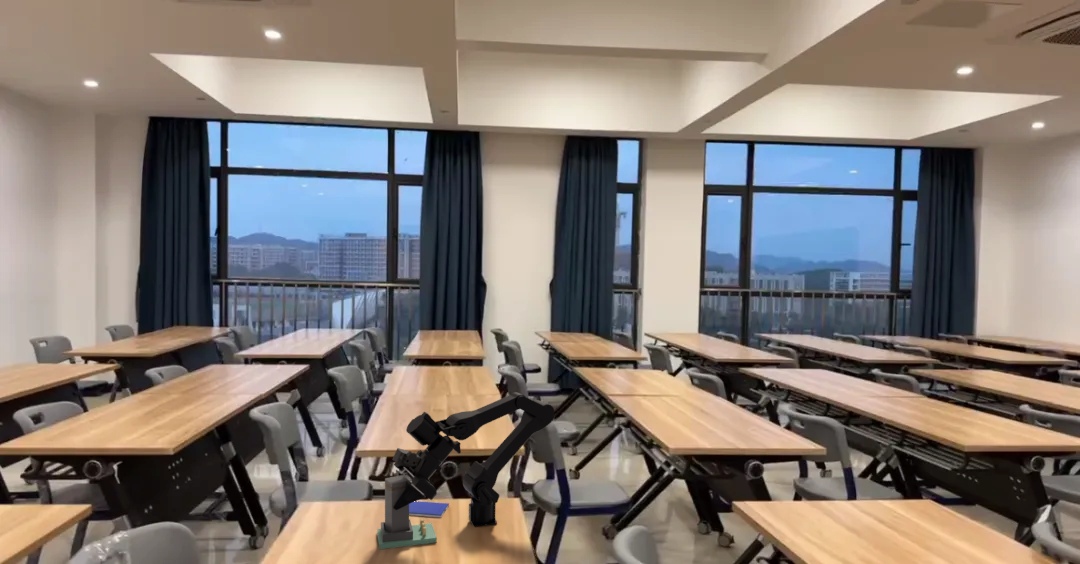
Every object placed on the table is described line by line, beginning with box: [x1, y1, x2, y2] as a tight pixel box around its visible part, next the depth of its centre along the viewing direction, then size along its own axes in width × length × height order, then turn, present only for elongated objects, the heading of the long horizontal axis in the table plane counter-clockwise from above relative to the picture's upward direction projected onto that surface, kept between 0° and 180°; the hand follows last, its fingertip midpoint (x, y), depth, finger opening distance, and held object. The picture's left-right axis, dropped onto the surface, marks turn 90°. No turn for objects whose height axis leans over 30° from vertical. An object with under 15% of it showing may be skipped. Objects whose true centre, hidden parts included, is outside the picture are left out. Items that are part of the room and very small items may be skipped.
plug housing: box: [384, 475, 410, 533], centre depth 162 cm, size 5×5×13 cm
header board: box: [376, 518, 438, 550], centre depth 163 cm, size 14×9×3 cm, turn 108°
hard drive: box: [409, 500, 450, 518], centre depth 181 cm, size 2×8×12 cm
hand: (391, 505), depth 161 cm, fingers closed on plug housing, 5 cm apart
